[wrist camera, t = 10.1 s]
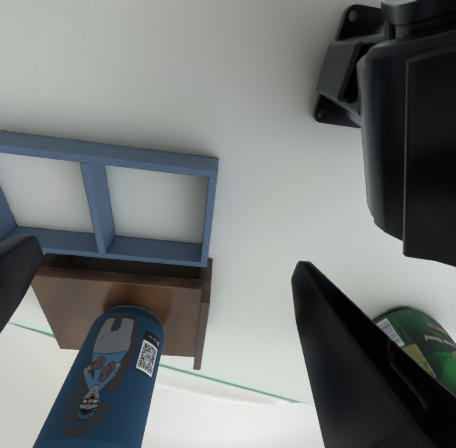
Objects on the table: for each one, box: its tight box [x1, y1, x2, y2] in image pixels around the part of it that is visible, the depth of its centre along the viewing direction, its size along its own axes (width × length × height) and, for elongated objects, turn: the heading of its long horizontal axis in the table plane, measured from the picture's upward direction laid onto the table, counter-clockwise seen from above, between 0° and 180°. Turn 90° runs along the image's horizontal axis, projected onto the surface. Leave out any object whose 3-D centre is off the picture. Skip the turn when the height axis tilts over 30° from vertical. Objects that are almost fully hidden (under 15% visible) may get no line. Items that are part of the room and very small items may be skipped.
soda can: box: [33, 305, 164, 448], centre depth 21 cm, size 7×7×12 cm
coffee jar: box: [374, 309, 456, 395], centre depth 26 cm, size 10×8×19 cm
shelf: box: [31, 253, 213, 370], centre depth 27 cm, size 16×12×6 cm
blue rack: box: [0, 131, 219, 267], centre depth 21 cm, size 19×10×3 cm, turn 82°
